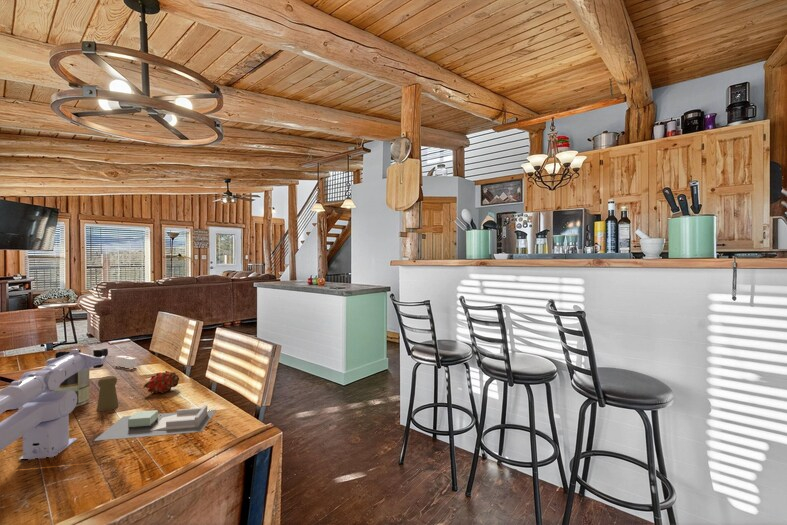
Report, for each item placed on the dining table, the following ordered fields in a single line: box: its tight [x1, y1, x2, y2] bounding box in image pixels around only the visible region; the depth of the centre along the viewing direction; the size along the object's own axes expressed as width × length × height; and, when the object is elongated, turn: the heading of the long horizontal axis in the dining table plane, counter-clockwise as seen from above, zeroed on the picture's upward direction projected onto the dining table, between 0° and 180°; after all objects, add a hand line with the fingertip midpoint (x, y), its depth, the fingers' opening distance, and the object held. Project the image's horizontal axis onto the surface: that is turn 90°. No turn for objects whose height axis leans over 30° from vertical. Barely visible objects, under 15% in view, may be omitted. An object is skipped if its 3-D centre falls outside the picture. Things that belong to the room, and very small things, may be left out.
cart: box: [128, 409, 159, 429], centre depth 113 cm, size 6×7×3 cm
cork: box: [96, 375, 119, 412], centre depth 126 cm, size 6×6×11 cm
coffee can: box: [51, 368, 91, 408], centre depth 130 cm, size 10×10×14 cm
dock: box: [93, 405, 217, 442], centre depth 114 cm, size 16×28×4 cm, turn 101°
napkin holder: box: [114, 355, 138, 368], centre depth 172 cm, size 15×11×6 cm
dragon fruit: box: [143, 370, 180, 394], centre depth 142 cm, size 8×8×12 cm
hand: (93, 352), depth 118 cm, fingers open, 7 cm apart
